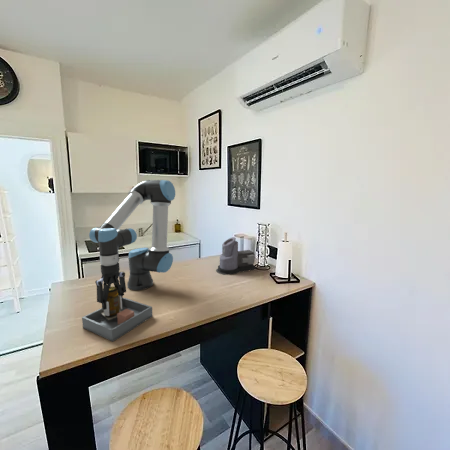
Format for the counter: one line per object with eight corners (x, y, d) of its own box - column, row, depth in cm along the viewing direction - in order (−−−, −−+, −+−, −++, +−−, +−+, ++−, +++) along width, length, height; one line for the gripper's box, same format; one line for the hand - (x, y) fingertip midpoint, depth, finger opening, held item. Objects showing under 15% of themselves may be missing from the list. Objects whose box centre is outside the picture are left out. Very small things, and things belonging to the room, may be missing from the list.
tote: (82, 327, 107) (81, 317, 106) (124, 306, 126) (123, 297, 125) (112, 341, 98) (111, 330, 97) (152, 316, 116) (152, 306, 115)
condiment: (116, 307, 118) (115, 284, 116) (124, 314, 112) (123, 289, 110) (101, 313, 113) (98, 288, 111) (108, 320, 107) (106, 294, 105)
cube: (117, 324, 108) (117, 313, 107) (127, 318, 112) (126, 308, 112) (125, 327, 106) (124, 316, 105) (134, 321, 110) (134, 311, 109)
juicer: (221, 276, 168) (221, 241, 164) (213, 268, 183) (212, 236, 179) (258, 270, 180) (259, 237, 176) (248, 263, 194) (249, 233, 190)
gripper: (95, 271, 99) (99, 324, 102) (133, 259, 115) (135, 305, 119) (83, 268, 102) (88, 319, 106) (122, 256, 119) (125, 301, 122)
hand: (113, 311), depth 112 cm, fingers closed on condiment, 6 cm apart
